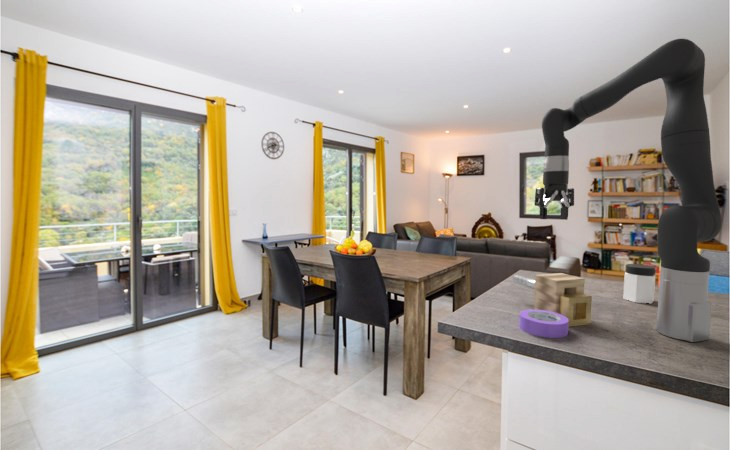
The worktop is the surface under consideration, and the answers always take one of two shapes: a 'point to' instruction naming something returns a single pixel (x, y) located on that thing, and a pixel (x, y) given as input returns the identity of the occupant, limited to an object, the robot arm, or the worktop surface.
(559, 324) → the masking tape
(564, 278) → the tan wooden block
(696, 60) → the robot arm
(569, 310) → the block
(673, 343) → the worktop surface
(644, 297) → the jar
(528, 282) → the shaft
